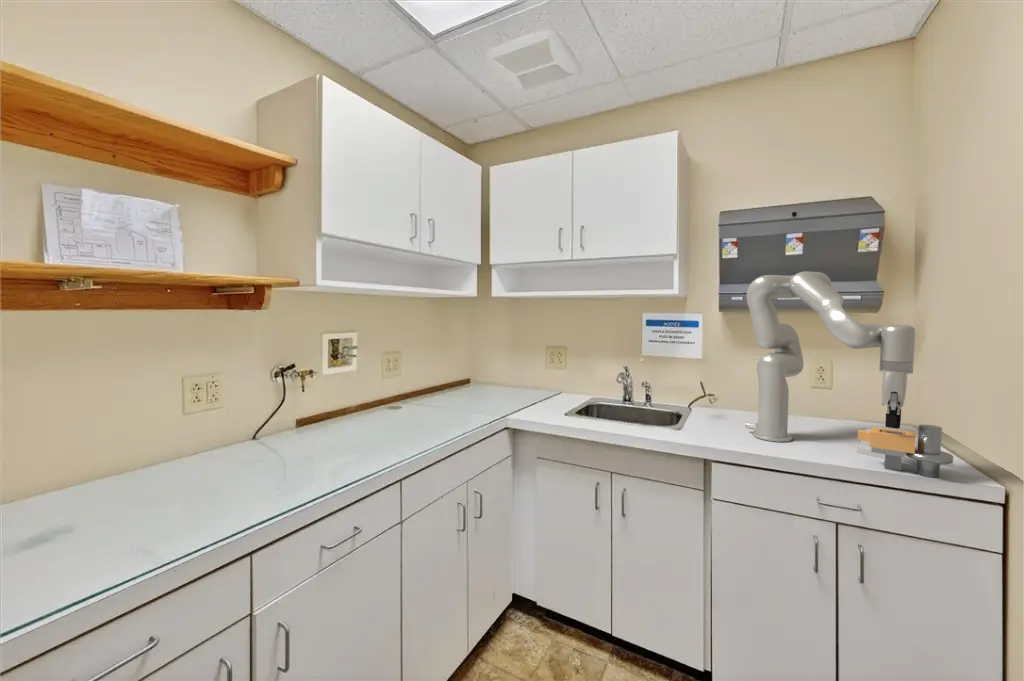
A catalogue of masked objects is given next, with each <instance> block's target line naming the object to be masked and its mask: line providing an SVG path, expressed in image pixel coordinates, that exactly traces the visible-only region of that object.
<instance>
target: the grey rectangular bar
mask: <svg viewBox="0 0 1024 681" xmlns="http://www.w3.org/2000/svg"><path fill="white" fill-rule="evenodd" d="M886 433H892V434H900V435H903V434H902V432H894V431H886ZM901 458H902V457H899V456H893V455H887V454H885V459H884V465H883V466H884V469H885V470H886V469H887V470H890V471H891V470H892V471H898V472H901V471H902V463H901Z"/></svg>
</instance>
